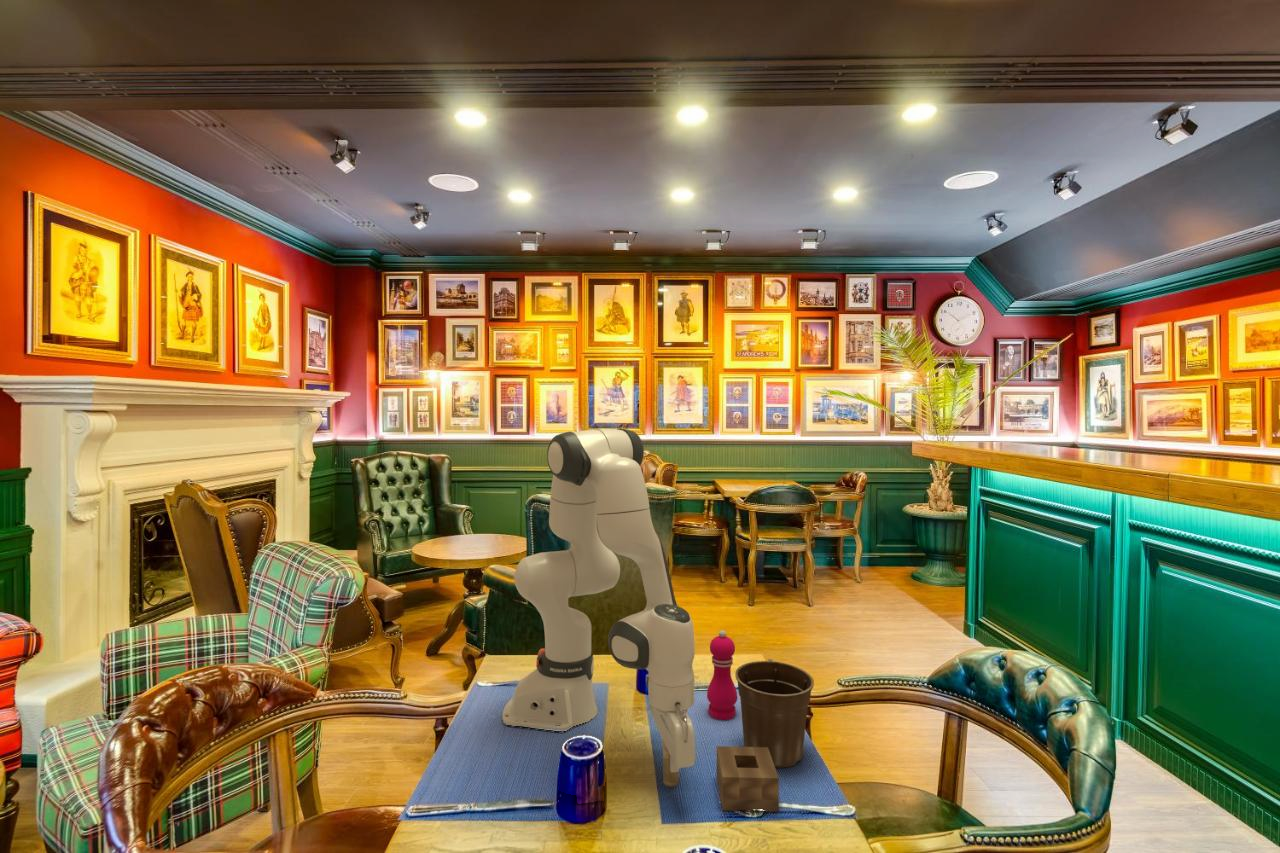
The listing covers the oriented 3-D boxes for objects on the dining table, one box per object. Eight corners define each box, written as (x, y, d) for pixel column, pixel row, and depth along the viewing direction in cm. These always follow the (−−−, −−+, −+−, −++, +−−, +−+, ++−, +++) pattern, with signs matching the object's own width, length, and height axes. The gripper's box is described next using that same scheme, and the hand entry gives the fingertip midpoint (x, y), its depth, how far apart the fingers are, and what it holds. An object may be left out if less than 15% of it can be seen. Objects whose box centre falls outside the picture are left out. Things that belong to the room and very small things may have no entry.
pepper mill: (736, 707, 142) (736, 625, 142) (738, 722, 135) (738, 636, 135) (706, 705, 143) (707, 624, 143) (707, 720, 136) (707, 635, 136)
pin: (663, 786, 111) (663, 734, 111) (663, 777, 114) (663, 726, 114) (679, 787, 111) (679, 734, 111) (678, 777, 114) (678, 726, 114)
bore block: (722, 810, 104) (722, 777, 104) (716, 776, 114) (716, 746, 114) (778, 811, 104) (778, 778, 104) (767, 777, 114) (767, 747, 114)
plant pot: (827, 772, 116) (827, 691, 116) (749, 778, 113) (749, 696, 113) (794, 729, 132) (794, 658, 132) (725, 734, 129) (725, 662, 129)
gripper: (704, 716, 103) (703, 794, 103) (673, 669, 123) (672, 734, 123) (669, 720, 101) (669, 799, 101) (644, 671, 121) (643, 737, 121)
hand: (670, 763), depth 112 cm, fingers closed on pin, 3 cm apart
